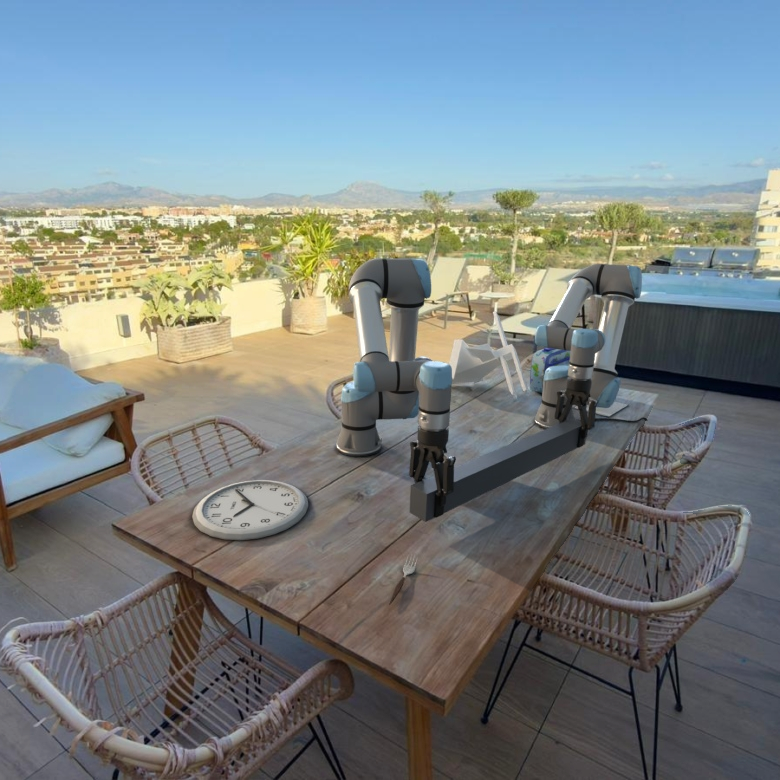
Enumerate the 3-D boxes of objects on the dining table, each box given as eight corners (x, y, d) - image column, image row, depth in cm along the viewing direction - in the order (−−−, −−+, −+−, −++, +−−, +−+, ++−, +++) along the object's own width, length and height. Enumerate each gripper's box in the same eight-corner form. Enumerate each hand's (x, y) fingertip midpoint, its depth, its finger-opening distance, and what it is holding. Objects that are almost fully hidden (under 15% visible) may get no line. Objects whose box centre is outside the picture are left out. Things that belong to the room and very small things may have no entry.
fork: (383, 605, 105) (383, 597, 105) (407, 560, 120) (408, 552, 119) (395, 608, 104) (395, 600, 104) (418, 562, 119) (419, 555, 118)
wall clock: (304, 532, 127) (176, 536, 124) (304, 538, 127) (177, 542, 125) (311, 475, 155) (207, 478, 153) (311, 480, 156) (208, 483, 153)
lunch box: (546, 398, 236) (551, 353, 229) (525, 393, 243) (529, 349, 237) (573, 387, 253) (579, 344, 247) (553, 382, 260) (558, 341, 254)
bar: (569, 439, 180) (572, 418, 178) (585, 444, 176) (588, 423, 174) (409, 512, 133) (410, 485, 130) (425, 522, 129) (426, 494, 126)
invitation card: (608, 416, 214) (573, 407, 224) (608, 416, 214) (573, 408, 224) (628, 404, 229) (594, 396, 238) (628, 405, 229) (594, 397, 238)
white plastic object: (461, 429, 252) (437, 405, 227) (444, 352, 274) (420, 323, 250) (535, 404, 240) (518, 377, 215) (510, 326, 262) (492, 293, 237)
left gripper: (395, 418, 130) (393, 499, 138) (451, 442, 117) (446, 531, 124) (417, 411, 135) (414, 490, 142) (473, 434, 122) (467, 520, 129)
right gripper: (547, 373, 173) (540, 437, 180) (601, 386, 159) (591, 455, 167) (560, 369, 177) (552, 432, 185) (613, 382, 164) (603, 449, 171)
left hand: (429, 509), depth 133 cm, fingers closed on bar, 6 cm apart
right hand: (571, 443), depth 176 cm, fingers closed on bar, 6 cm apart
